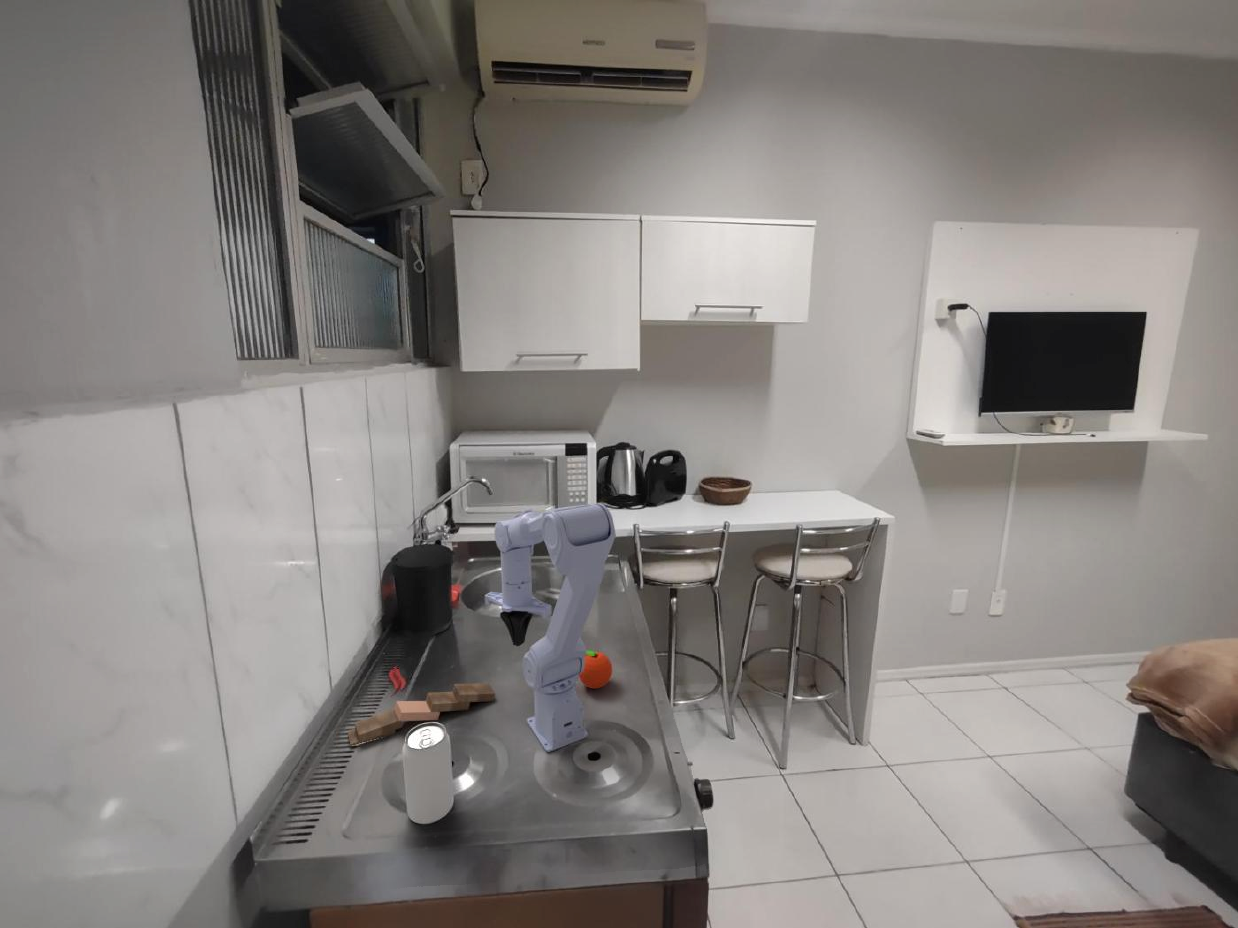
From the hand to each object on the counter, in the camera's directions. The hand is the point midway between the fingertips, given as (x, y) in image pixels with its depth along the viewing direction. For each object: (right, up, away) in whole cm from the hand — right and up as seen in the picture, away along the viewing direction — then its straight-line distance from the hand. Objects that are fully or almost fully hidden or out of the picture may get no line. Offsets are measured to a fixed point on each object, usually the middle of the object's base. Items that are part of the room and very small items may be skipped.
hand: (518, 643), depth 106 cm
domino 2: (-21, -11, -10) cm, 26 cm away
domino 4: (-9, -10, -4) cm, 14 cm away
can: (-8, -15, -28) cm, 33 cm away
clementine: (+15, -9, +2) cm, 18 cm away
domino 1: (-20, -10, -10) cm, 24 cm away
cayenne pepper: (-26, -9, +4) cm, 28 cm away
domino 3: (-14, -10, -7) cm, 19 cm away
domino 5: (-5, -9, -1) cm, 11 cm away
